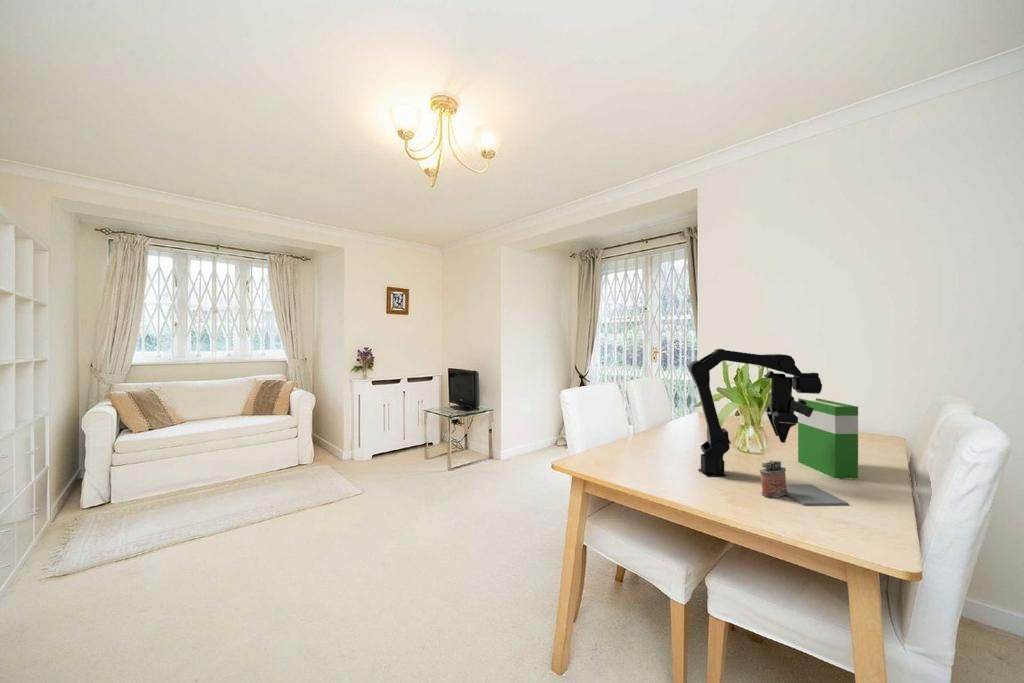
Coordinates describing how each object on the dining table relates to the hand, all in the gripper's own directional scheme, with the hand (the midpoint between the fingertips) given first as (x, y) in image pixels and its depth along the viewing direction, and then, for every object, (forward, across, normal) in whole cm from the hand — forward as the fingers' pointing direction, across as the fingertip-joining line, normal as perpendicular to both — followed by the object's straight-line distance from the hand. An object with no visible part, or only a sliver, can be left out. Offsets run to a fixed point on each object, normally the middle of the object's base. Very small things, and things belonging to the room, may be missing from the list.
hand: (780, 439), depth 129 cm
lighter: (+13, -16, +4) cm, 21 cm away
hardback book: (+13, +18, -16) cm, 28 cm away
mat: (+13, -12, -5) cm, 19 cm away
